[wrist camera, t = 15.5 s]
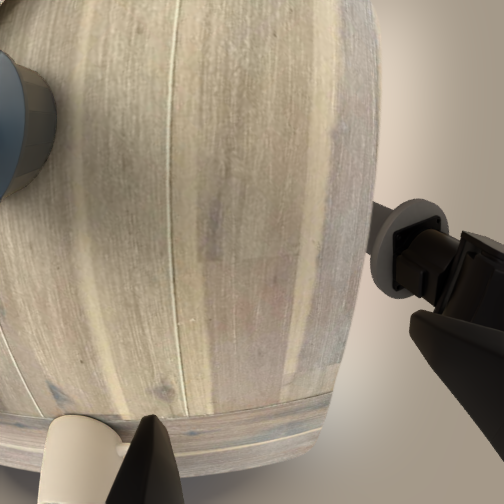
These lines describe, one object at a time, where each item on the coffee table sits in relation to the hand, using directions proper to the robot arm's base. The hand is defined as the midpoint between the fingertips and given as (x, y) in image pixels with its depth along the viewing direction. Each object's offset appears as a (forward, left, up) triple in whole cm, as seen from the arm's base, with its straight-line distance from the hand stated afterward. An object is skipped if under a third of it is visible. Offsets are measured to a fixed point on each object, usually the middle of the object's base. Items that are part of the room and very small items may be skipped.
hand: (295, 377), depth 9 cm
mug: (+18, +16, -13) cm, 27 cm away
